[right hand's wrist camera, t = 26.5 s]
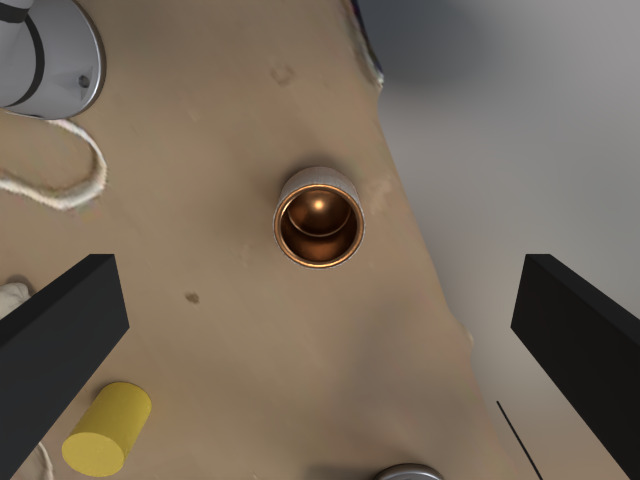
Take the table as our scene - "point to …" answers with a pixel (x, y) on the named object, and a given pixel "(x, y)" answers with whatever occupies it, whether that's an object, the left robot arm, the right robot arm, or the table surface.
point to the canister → (107, 430)
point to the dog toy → (12, 297)
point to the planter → (318, 219)
